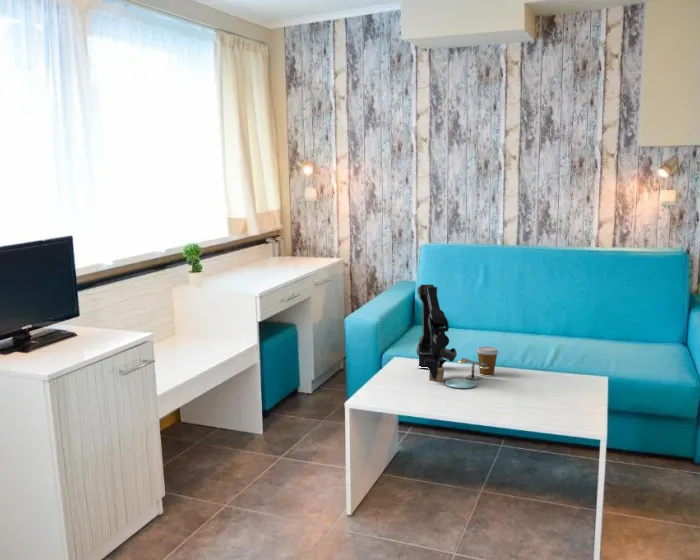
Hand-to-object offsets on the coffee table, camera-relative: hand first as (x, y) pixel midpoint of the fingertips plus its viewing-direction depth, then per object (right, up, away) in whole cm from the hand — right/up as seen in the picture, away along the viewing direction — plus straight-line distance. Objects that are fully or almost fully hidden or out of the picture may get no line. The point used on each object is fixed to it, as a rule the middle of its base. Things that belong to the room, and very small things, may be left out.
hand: (436, 377), depth 296 cm
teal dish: (+9, -2, -8) cm, 13 cm away
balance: (+17, -1, +2) cm, 17 cm away
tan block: (0, -1, 0) cm, 1 cm away
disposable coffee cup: (+24, 0, +10) cm, 26 cm away
